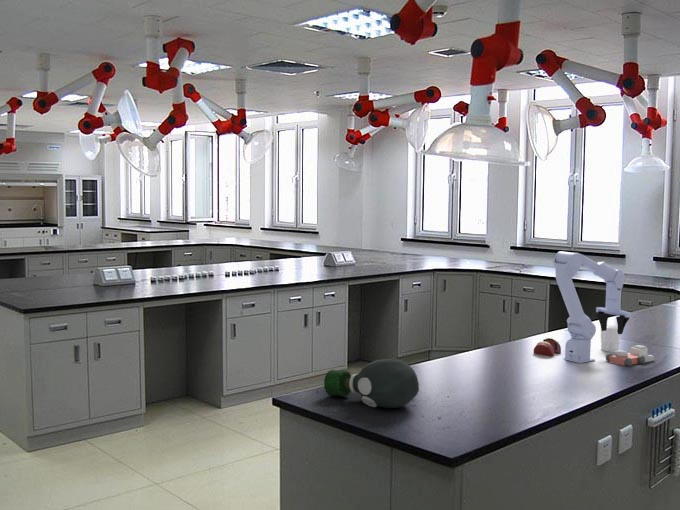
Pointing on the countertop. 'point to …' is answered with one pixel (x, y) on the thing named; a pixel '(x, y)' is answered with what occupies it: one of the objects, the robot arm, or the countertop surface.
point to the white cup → (610, 339)
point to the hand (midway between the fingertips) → (611, 332)
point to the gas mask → (376, 383)
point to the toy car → (627, 358)
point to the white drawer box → (639, 350)
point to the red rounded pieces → (547, 347)
